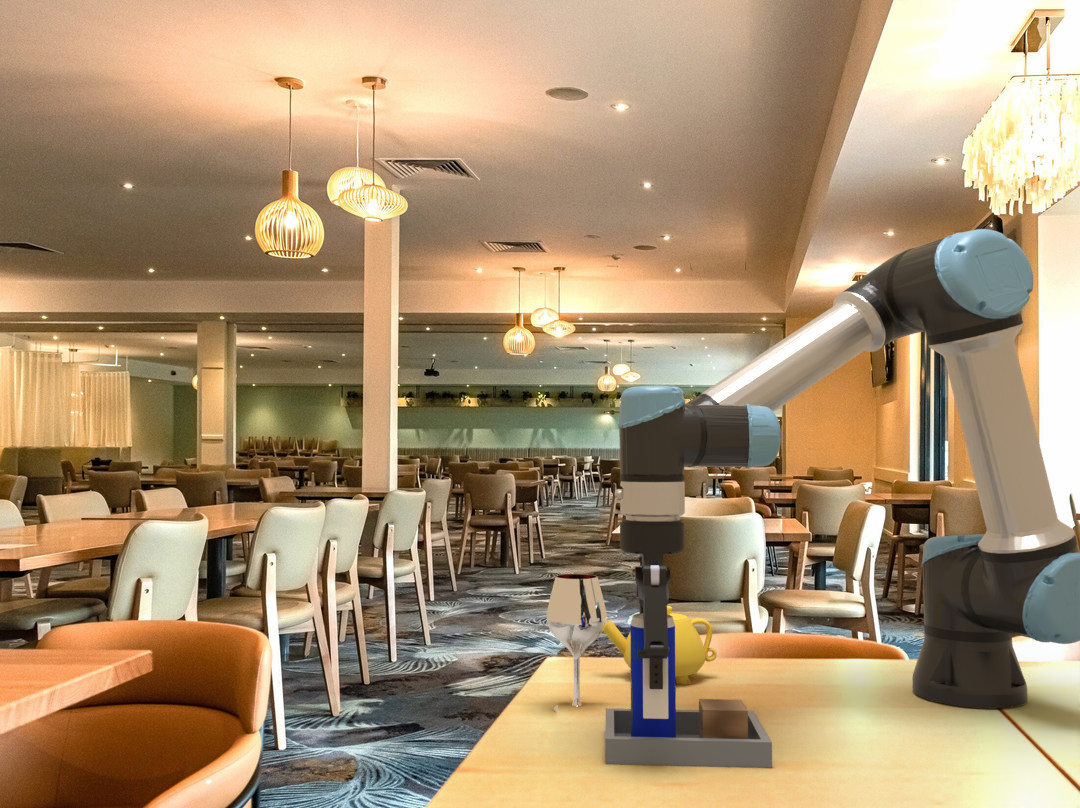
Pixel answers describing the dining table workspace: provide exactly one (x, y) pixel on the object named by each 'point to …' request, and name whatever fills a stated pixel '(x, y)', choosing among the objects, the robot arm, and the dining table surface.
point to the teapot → (686, 645)
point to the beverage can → (638, 723)
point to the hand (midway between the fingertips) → (653, 702)
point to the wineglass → (576, 617)
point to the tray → (684, 744)
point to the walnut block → (723, 719)
